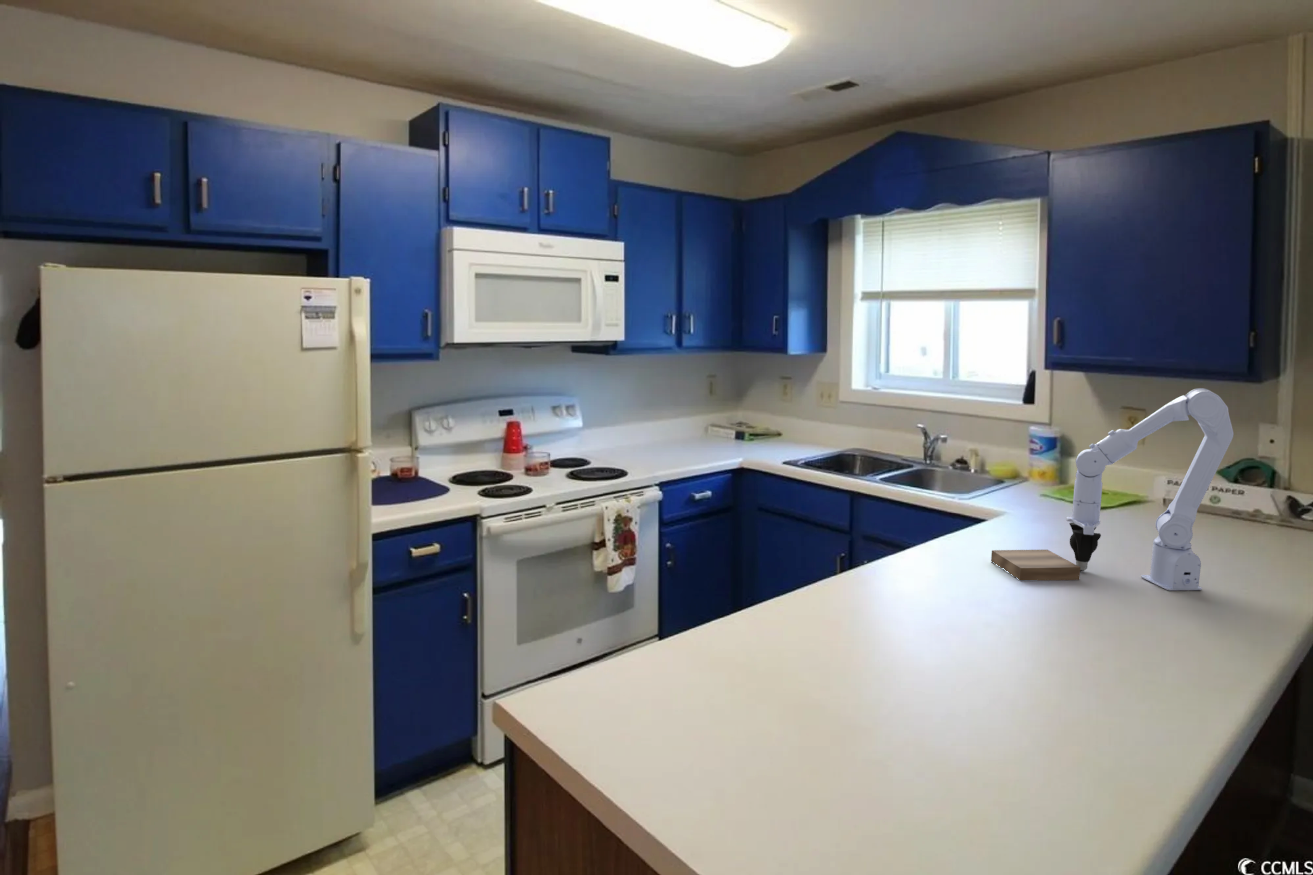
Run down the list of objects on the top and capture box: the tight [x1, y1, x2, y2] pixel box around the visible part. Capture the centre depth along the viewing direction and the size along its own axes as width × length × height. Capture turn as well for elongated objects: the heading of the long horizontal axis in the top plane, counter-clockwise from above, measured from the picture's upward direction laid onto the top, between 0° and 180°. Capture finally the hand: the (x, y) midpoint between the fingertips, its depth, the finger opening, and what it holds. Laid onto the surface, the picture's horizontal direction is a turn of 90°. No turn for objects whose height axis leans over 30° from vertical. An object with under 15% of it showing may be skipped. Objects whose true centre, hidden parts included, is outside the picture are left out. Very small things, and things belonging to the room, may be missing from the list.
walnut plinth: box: [990, 549, 1081, 581], centre depth 189 cm, size 14×14×3 cm
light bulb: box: [1069, 530, 1099, 572], centre depth 188 cm, size 6×6×10 cm
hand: (1082, 557), depth 188 cm, fingers closed on light bulb, 6 cm apart
